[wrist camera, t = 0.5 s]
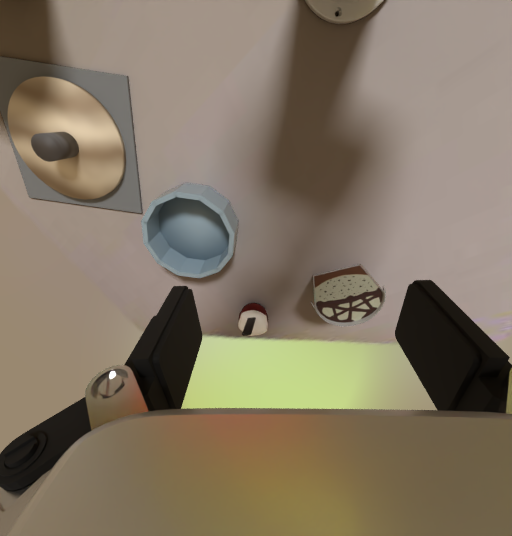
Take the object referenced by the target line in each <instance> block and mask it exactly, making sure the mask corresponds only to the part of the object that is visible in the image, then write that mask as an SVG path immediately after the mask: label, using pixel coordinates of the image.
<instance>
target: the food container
mask: <svg viewBox="0 0 512 536" xmlns="http://www.w3.org/2000/svg"><path fill="white" fill-rule="evenodd" d="M313 288H314V302H315V306H314V305H313V303H312V302H311V304H312V306H313V308H314V310H315V311H316V313H317V314H318V315H319V316H320V317H321V318H322V319H323V320H324V321H326V322H328V323H330V324H333V325H336V326H354V325H358V324H361V323H364V322H366V321H368V320H369V319H371V318H372V317H374V316H375V315H376V314H377V313H378V312H379V311H380V310H381V308H382V306H383V304H384V302H385V295H386V290H385V287H384V286H383V289H382V288H381V287H380V286H379V285H378V284H377V283H376V281H375V280H374V279H373V278H372V277H371V276H370V274H369V273H368V272H367V271H366V270H365V269H364V268H363V266H362V265H361V264H358V265H354V266H350V267H345V268H341V269H337V270H333V271H329V272H325V273H321V274H317V275H313Z"/></svg>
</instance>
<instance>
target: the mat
mask: <svg viewBox="0 0 512 536" xmlns="http://www.w3.org/2000/svg"><path fill="white" fill-rule="evenodd" d="M42 76H44V77H54V78H59V79H63V80H67V81H69V82H72V83H74V84H76V85H78V86H80V87H82V88H83V89H85V90H86V91H88V92H89V93H91V94H92V95H93V96H94V97H95V98H97V100H98V101H99V102H100V103H101V104H102V105H103V106H104V107H105V108H106V109H107V111H108V112H109V113H110V115H111V116H112V118H113V119H114V121H115V123H116V124H117V126H118V128H119V131H120V133H121V135H122V138H123V142H124V145H125V151H126V168H125V172H124V175H123V178H122V180H121V182H120V183H119V185H118V186H117V187H116V188H115V189H114V190H113V191H112V192H110V193H108V194H106V195H104V196H102V197H99V198H95V199H77V198H72V197H69V196H66V195H64V194H62V193H59V192H58V191H56V190H54V189H52V188H51V187H49V186H48V185H46V184H45V183H44V182H43V181H42V180H40V179H39V178H38V177H37V176H36V175H35V174H34V173H33V172H32V171H31V170H30V168H29V167H28V166H27V165H26V163H25V162H24V161H23V159H22V158H21V156H20V154H19V153H18V151H17V149H16V147H15V145H14V142H13V140H12V137H11V134H10V130H9V125H8V105H9V101H10V98H11V96H12V94H13V92H14V91H15V89H16V88H17V87H18V86H19V85H20V84H21V83H22V82H24V81H26V80H28V79H31V78H34V77H42ZM0 112H1V115H2V118H3V121H4V124H5V127H6V130H7V133H8V136H9V139H10V142H11V145H12V148H13V151H14V154H15V156H16V159H17V162H18V165H19V168H20V171H21V174H22V177H23V180H24V183H25V186H26V189H27V192H28V195H29V197H30V198H37V199H44V200H51V201H58V202H65V203H72V204H79V205H86V206H93V207H100V208H107V209H114V210H121V211H128V212H135V213H143V212H142V203H141V193H140V184H139V174H138V165H137V155H136V146H135V136H134V127H133V117H132V108H131V98H130V89H129V79H128V76H123V75H117V74H111V73H104V72H98V71H91V70H85V69H78V68H72V67H66V66H59V65H53V64H46V63H40V62H33V61H27V60H21V59H14V58H8V57H1V56H0Z"/></svg>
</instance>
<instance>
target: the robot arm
mask: <svg viewBox="0 0 512 536" xmlns="http://www.w3.org/2000/svg"><path fill="white" fill-rule="evenodd" d="M383 1H384V0H305V2H306V3H307V5H308V6H309V7H310V9H311V10H312V11H313V12H314V13H315V14H316V15H317V16H319V17H320V18H322V19H324V20H325V21H327V22H331V23H335V24H347V23H351V22H354V21H357V20H359V19H361V18H363V17H365V16H367V15H368V14H369V13H371V12H372V11H373V10H374V9H376V8H377V7H378V6H379V5H380V4H381V3H382V2H383ZM336 12H338V14H339V16H338V17H336V16H335V13H336ZM395 336H396V339H397V341H398V343H399V345H400V346H401V348H402V350H403V351H404V353H405V355H406V357H407V358H408V360H409V362H410V363H411V365H412V367H413V368H414V370H415V372H416V374H417V375H418V377H419V379H420V381H421V382H422V384H423V386H424V388H425V389H426V391H427V393H428V394H429V396H430V398H431V400H432V401H433V403H434V405H435V407H436V408H437V411H436V410H376V409H374V410H373V409H271V408H270V409H269V408H268V409H265V408H263V409H260V408H258V409H257V408H256V409H255V408H205V409H181V407H182V403H183V400H184V397H185V393H186V390H187V387H188V384H189V380H190V377H191V374H192V370H193V367H194V364H195V361H196V358H197V354H198V351H199V348H200V345H201V341H202V331H201V327H200V322H199V318H198V314H197V309H196V305H195V300H194V296H193V292H192V290H191V289H188V287H187V286H174V287H173V288H172V289H171V291H170V293H169V295H168V296H167V298H166V300H165V302H164V303H163V305H162V307H161V309H160V310H159V312H158V314H157V315H156V316H154V317H153V318H152V319H151V321H150V323H149V324H148V326H147V328H146V329H145V331H144V333H143V334H142V336H141V338H140V340H139V341H138V343H137V345H136V346H135V348H134V350H133V351H132V353H131V355H130V357H129V358H128V360H127V362H126V363H125V365H116V366H112V367H109V368H107V369H105V370H103V371H102V372H100V373H98V374H97V375H96V376H95V377H94V378H93V379H92V380H91V381H90V383H89V384H88V386H87V388H86V392H85V397H84V398H83V399H81V400H80V401H78V402H76V403H74V404H72V405H71V406H69V407H68V408H66V409H64V410H63V411H61V412H59V413H57V414H56V415H54V416H52V417H51V418H49V419H47V420H46V421H44V422H42V423H40V424H39V425H37V426H36V427H34V428H32V429H30V430H29V431H27V432H25V433H24V434H22V435H21V436H19V437H18V438H16V439H15V440H13V441H12V442H11V443H10V444H9V445H8V446H7V447H6V448H5V449H4V450H3V451H2V452H1V454H0V536H512V365H511V364H510V363H509V362H508V359H509V356H508V355H507V354H506V353H505V352H504V351H503V350H502V349H501V348H500V347H499V346H498V345H497V344H496V343H495V342H494V341H493V340H491V339H490V338H489V337H488V336H487V335H486V334H485V333H484V332H483V331H482V330H481V329H480V328H479V327H478V326H477V325H476V324H475V323H474V322H473V321H472V320H471V319H470V318H469V317H468V316H467V315H466V314H465V313H464V312H463V311H462V310H461V309H460V308H459V307H458V306H457V305H456V304H455V303H454V302H453V301H452V300H451V299H450V298H449V297H448V296H447V295H446V294H445V293H444V292H443V291H442V290H441V289H440V288H439V287H438V286H437V285H436V284H435V283H434V282H433V281H431V280H416V281H414V282H413V283H412V284H410V285H409V286H408V289H407V293H406V296H405V299H404V303H403V306H402V310H401V313H400V316H399V320H398V323H397V327H396V330H395Z"/></svg>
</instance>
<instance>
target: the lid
mask: <svg viewBox="0 0 512 536" xmlns="http://www.w3.org/2000/svg"><path fill="white" fill-rule="evenodd" d="M8 125H9V130H10V134H11V137H12V140H13V142H14V145H15V147H16V149H17V151H18V153H19V154H20V156H21V158H22V159H23V161H24V162H25V163H26V165H27V166H28V167H29V168H30V170H31V171H32V172H33V173H34V174H35V175H36V176H37V177H38V178H39V179H40V180H42V181H43V182H44V183H45V184H46V185H48V186H49V187H51V188H52V189H54V190H56V191H58V192H59V193H62V194H64V195H66V196H69V197H72V198H77V199H95V198H99V197H102V196H104V195H106V194H108V193H110V192H112V191H113V190H114V189H115V188H116V187H117V186H118V185H119V183H120V182H121V180H122V178H123V175H124V172H125V168H126V151H125V145H124V142H123V138H122V135H121V133H120V131H119V128H118V126H117V124H116V123H115V121H114V119H113V118H112V116H111V115H110V113H109V112H108V111H107V109H106V108H105V107H104V106H103V105H102V104H101V103H100V102H99V101H98V100H97V98H95V97H94V96H93V95H92V94H91V93H89V92H88V91H86V90H85V89H83V88H82V87H80V86H78V85H76V84H74V83H72V82H69V81H67V80H63V79H59V78H54V77H44V76H42V77H34V78H31V79H28V80H26V81H24V82H22V83H21V84H20V85H19V86H18V87H17V88H16V89H15V91H14V92H13V94H12V96H11V98H10V101H9V105H8Z"/></svg>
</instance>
